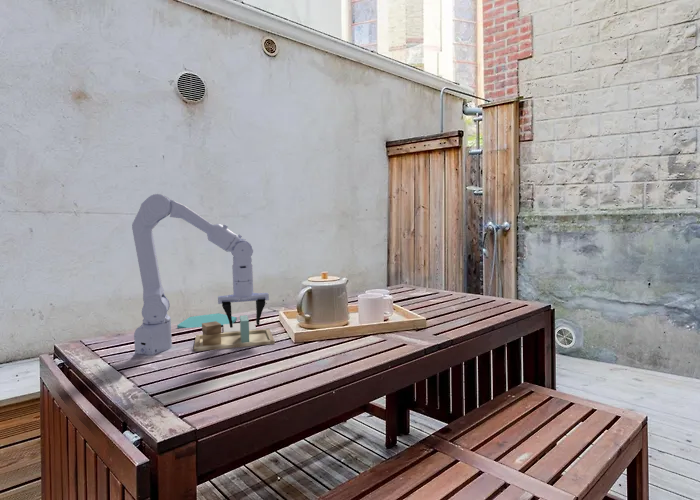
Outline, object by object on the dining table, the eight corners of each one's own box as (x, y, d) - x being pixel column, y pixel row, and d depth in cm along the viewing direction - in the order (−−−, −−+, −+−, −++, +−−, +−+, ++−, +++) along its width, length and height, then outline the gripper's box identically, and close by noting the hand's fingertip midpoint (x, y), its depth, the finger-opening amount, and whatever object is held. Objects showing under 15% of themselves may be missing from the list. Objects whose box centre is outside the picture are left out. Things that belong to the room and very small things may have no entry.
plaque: (220, 336, 144) (241, 318, 163) (220, 330, 143) (241, 313, 163) (169, 334, 145) (196, 317, 165) (169, 329, 145) (196, 312, 165)
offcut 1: (206, 335, 125) (206, 326, 125) (202, 331, 129) (201, 323, 129) (221, 332, 128) (221, 324, 127) (216, 329, 131) (216, 321, 131)
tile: (223, 338, 137) (223, 332, 137) (223, 330, 146) (223, 324, 146) (256, 335, 140) (256, 329, 139) (254, 327, 149) (254, 321, 149)
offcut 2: (203, 345, 125) (202, 335, 125) (203, 340, 130) (203, 331, 130) (221, 344, 127) (220, 333, 127) (221, 339, 132) (220, 329, 131)
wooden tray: (194, 355, 121) (193, 348, 120) (196, 341, 134) (196, 334, 134) (274, 347, 127) (274, 340, 127) (269, 334, 140) (269, 328, 140)
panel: (241, 343, 127) (240, 321, 127) (240, 336, 134) (239, 315, 134) (249, 342, 128) (248, 320, 128) (247, 336, 135) (247, 315, 134)
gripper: (217, 284, 124) (219, 331, 125) (269, 280, 128) (270, 326, 129) (217, 280, 130) (219, 325, 132) (266, 277, 135) (268, 321, 136)
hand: (244, 325), depth 131 cm, fingers open, 7 cm apart
